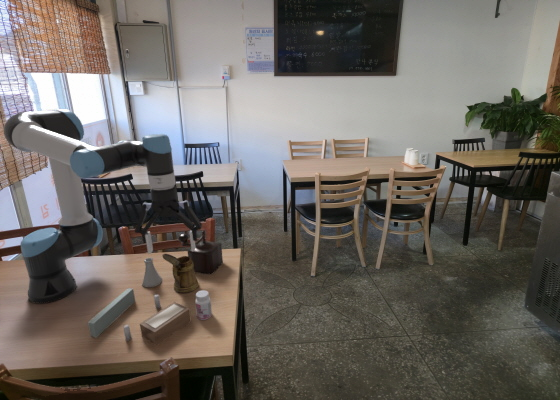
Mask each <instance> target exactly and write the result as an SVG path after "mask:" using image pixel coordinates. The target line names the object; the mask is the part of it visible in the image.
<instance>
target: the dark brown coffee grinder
mask: <svg viewBox="0 0 560 400" xmlns="http://www.w3.org/2000/svg"><path fill="white" fill-rule="evenodd" d="M177 240H178V242H180V243H181V246H182V247H190V248H188V249H187V251H186V252H187V256H188V257H191V259H192V261H193V264H194V271H195V274H196V273H198V274H201V275H202V274H203V275H213V274H214V273H215V272H216V271H217V270H218V269H219V268H220V267H221V266H222V265H223V263H224V259H223V251H222V250H223V248H222V242H215V241H207V240H206V230H205V229H203V230H201V236H200V238H199V239H197V240H196V241H195V247H196V248H195V250H194V251H192V249H191V243H190V242H189V235H188V234H187V233H181V234H179V235H178V238H177ZM219 266H220V267H219Z"/></svg>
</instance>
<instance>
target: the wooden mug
mask: <svg viewBox="0 0 560 400" xmlns="http://www.w3.org/2000/svg"><path fill="white" fill-rule="evenodd" d="M161 257H162V258H163V260H165V261H166V262H168V263H169V264H171V265H172V277H173V279H174V282H173V290H174V291H175V292H178V293H181V294H186V293H187V294H188V293H191V292H192V291H195V290H197V288H198V286H199V281H198V278H197V275H196V272H195V271H194V264H193V261H192V259H191V257H188V255H182V256H180V257H176V256H174V255H171V254H168V253H163V254H162V255H161Z"/></svg>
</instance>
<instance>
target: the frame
mask: <svg viewBox="0 0 560 400" xmlns="http://www.w3.org/2000/svg"><path fill="white" fill-rule="evenodd" d="M191 321H192V320H191V312H190V308H188V307H186V306H184V305H182V304H180V303H178V302H175V301H173V302H172V303H170V304H169V305H167V306H166V307H164V308H163V309H161V310H160V311H158V312H156V313H154V314H153V315H151V316H150V317H148V318H147V319H145V320H143V321H142V322H140V323H139V328H140V333H141V338H143V339H145V340H146V341H148V342H149V343H152V344H153V345H155V346H158V345H160V344H162V343H163V342H164V341H165V340H167V339H168V338H170V337H171V336H173V335H174V334H175V333H176V332H178V331H180V329H182V328H184V327H186V325H188V324H189V323H191Z"/></svg>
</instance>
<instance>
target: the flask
mask: <svg viewBox="0 0 560 400" xmlns="http://www.w3.org/2000/svg"><path fill="white" fill-rule="evenodd" d="M153 261H154V258H153V257H146V258H144V260H143V262H144V264H145V269H144V275H143V281H142V284H141V286H142V287H145V288H152V287H153V288H154V287H157V286H158V285H160V284H161V283H162V280H163V279H162V276H161V275H160V274H159V272H158V271H157V269H156V268H155V265H154V262H153Z"/></svg>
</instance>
